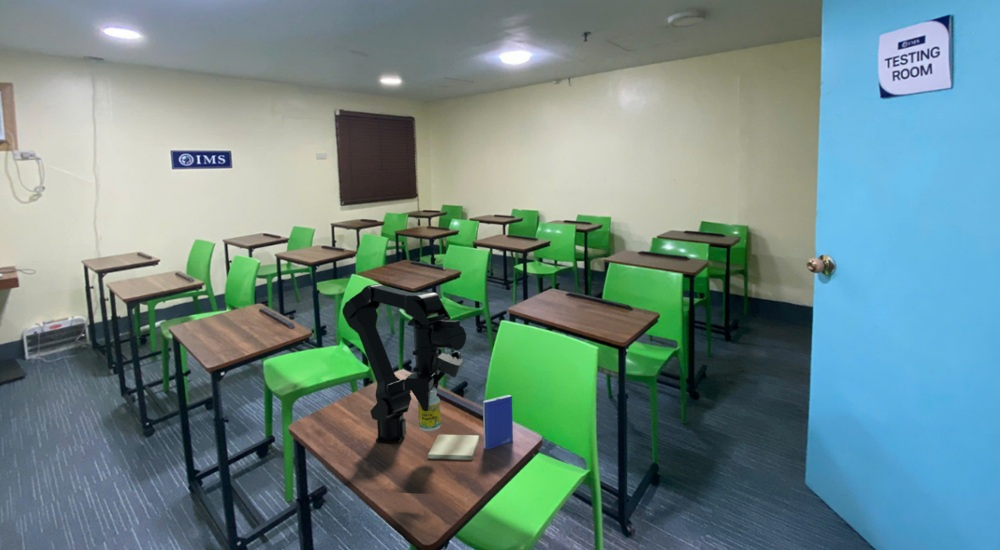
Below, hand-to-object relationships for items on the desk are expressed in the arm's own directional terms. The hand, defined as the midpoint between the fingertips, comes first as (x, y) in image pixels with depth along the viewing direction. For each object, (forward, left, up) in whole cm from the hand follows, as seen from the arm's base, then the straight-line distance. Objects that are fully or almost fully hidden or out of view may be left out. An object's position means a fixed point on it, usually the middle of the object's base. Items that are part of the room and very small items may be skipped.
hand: (429, 406), depth 116 cm
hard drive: (+16, +7, -13) cm, 22 cm away
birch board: (+5, +4, -13) cm, 15 cm away
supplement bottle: (0, 0, -6) cm, 6 cm away
